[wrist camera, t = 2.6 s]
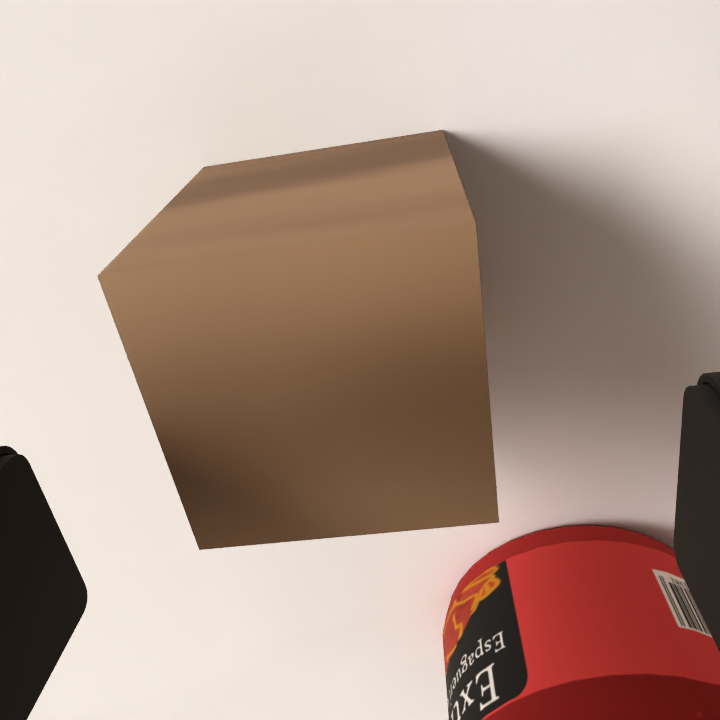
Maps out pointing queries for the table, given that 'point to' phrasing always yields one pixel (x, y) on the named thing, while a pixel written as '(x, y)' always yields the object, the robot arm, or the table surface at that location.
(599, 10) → the table surface
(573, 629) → the canned food
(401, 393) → the walnut block
